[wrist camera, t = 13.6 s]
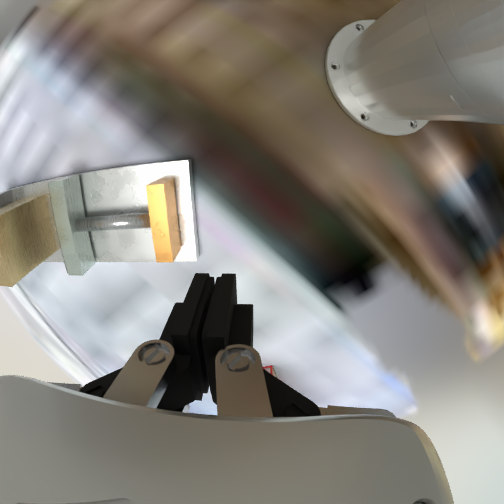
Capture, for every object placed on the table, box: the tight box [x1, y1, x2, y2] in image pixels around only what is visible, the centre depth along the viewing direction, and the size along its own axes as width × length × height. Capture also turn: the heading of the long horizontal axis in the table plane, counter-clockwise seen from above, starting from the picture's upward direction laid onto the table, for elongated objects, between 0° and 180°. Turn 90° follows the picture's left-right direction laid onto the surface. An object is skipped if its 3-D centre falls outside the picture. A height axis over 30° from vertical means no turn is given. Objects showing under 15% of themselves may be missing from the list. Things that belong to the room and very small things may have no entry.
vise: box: [0, 159, 200, 262], centre depth 26 cm, size 27×10×4 cm, turn 91°
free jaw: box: [48, 175, 181, 275], centre depth 25 cm, size 13×10×3 cm
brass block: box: [0, 194, 57, 287], centre depth 22 cm, size 5×7×9 cm
